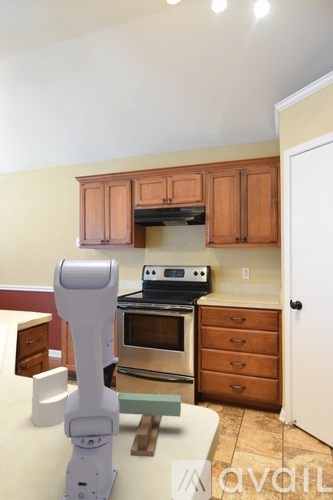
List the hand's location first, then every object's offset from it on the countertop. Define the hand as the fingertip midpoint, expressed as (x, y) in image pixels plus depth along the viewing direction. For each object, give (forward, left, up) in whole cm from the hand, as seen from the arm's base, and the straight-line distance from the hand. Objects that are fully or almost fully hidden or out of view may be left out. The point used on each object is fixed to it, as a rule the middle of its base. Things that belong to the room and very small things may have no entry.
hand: (101, 396), depth 73 cm
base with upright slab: (+7, +16, -10) cm, 20 cm away
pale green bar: (+4, -11, -5) cm, 13 cm away
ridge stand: (+4, -11, -9) cm, 15 cm away
